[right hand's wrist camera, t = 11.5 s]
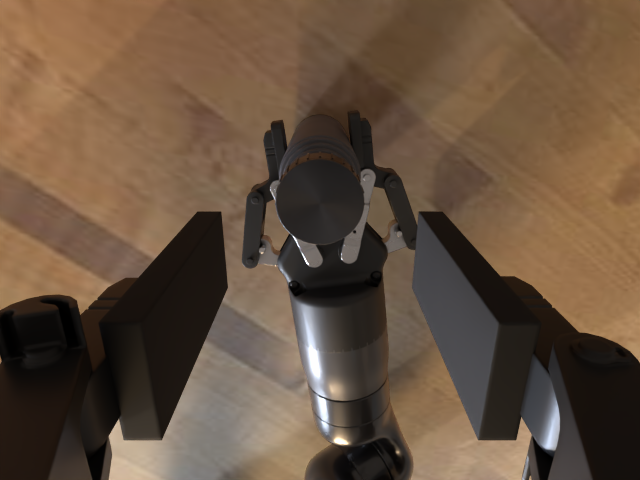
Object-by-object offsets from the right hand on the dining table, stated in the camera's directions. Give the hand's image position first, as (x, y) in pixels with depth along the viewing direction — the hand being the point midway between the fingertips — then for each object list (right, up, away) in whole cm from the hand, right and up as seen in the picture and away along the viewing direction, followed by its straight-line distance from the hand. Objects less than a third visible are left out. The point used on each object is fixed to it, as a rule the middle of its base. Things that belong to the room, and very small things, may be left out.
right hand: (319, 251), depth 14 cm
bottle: (0, +9, +22) cm, 24 cm away
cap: (0, +2, +5) cm, 6 cm away
